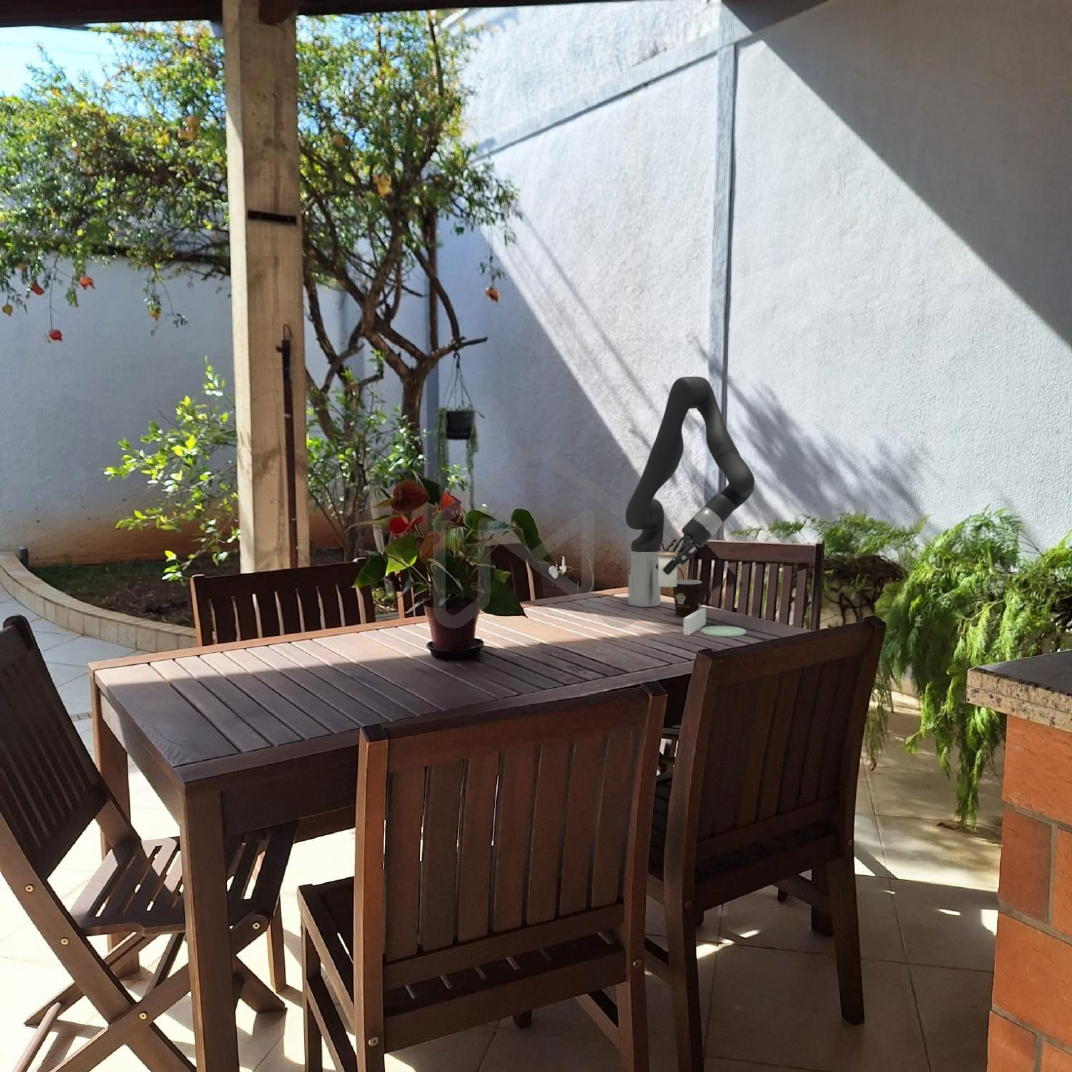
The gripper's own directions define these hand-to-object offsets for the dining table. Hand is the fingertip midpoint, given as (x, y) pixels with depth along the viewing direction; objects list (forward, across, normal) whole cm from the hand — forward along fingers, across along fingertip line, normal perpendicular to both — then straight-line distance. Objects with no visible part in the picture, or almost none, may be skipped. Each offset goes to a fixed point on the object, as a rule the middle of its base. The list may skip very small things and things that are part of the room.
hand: (661, 570), depth 268 cm
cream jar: (+2, 0, +4) cm, 5 cm away
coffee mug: (+2, -13, +21) cm, 25 cm away
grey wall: (+6, +5, +17) cm, 19 cm away
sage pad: (+1, +10, +21) cm, 24 cm away
